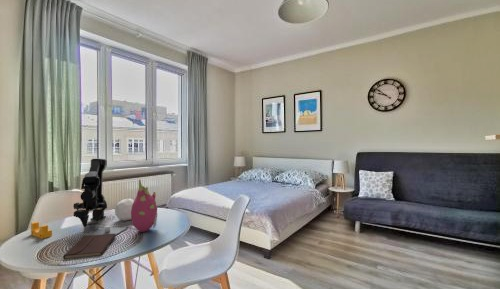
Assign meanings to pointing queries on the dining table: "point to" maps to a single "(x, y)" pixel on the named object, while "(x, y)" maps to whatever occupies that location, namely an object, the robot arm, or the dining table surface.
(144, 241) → the dining table surface
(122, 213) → the geodesic sphere
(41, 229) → the pipe clamp
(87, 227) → the ring
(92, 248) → the notebook
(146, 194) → the pink dragon fruit
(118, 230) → the gray square plate
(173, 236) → the dining table surface
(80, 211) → the robot arm
